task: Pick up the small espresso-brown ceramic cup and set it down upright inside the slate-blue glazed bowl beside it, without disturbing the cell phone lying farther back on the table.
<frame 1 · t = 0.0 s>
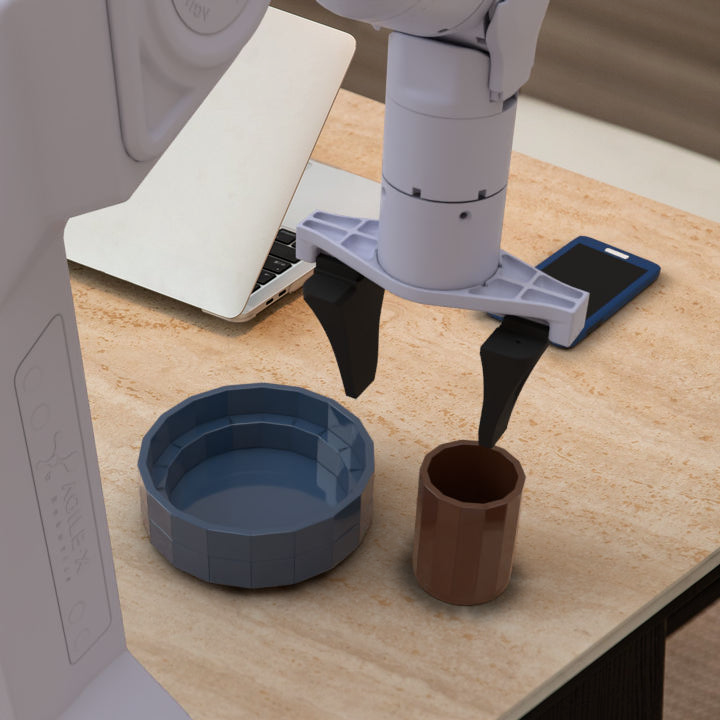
hand: (424, 411, 64), 10 cm above the table, tool pointing down, fingers open, 7 cm apart
bowl: (258, 512, 72), on the table
cell phone: (573, 295, 92), on the table
cup: (461, 569, 68), on the table
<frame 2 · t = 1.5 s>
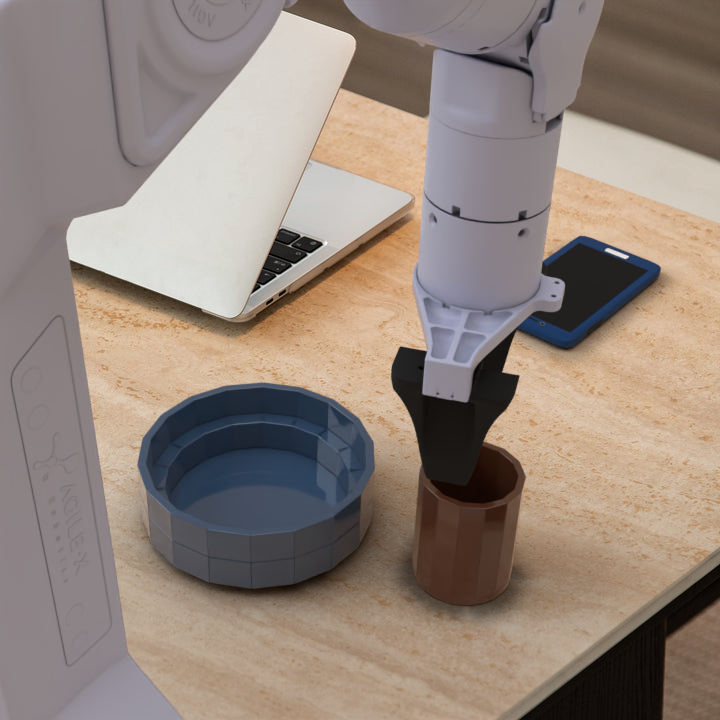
hand: (461, 430, 63), 9 cm above the table, tool pointing down, fingers open, 7 cm apart
nothing on the table moved.
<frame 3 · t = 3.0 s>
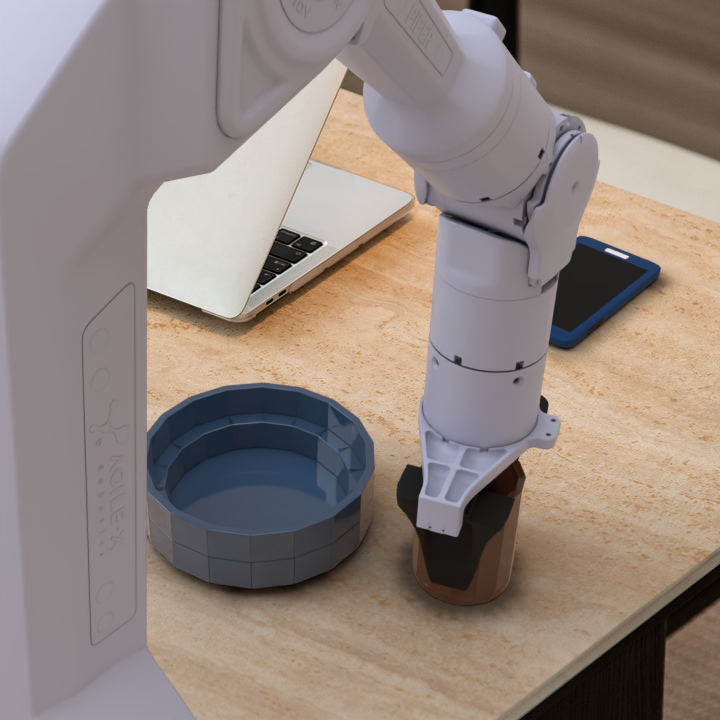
hand: (464, 544, 67), 2 cm above the table, tool pointing down, fingers closed on cup, 5 cm apart
cup: (461, 569, 68), on the table, touching gripper
everything else where it was.
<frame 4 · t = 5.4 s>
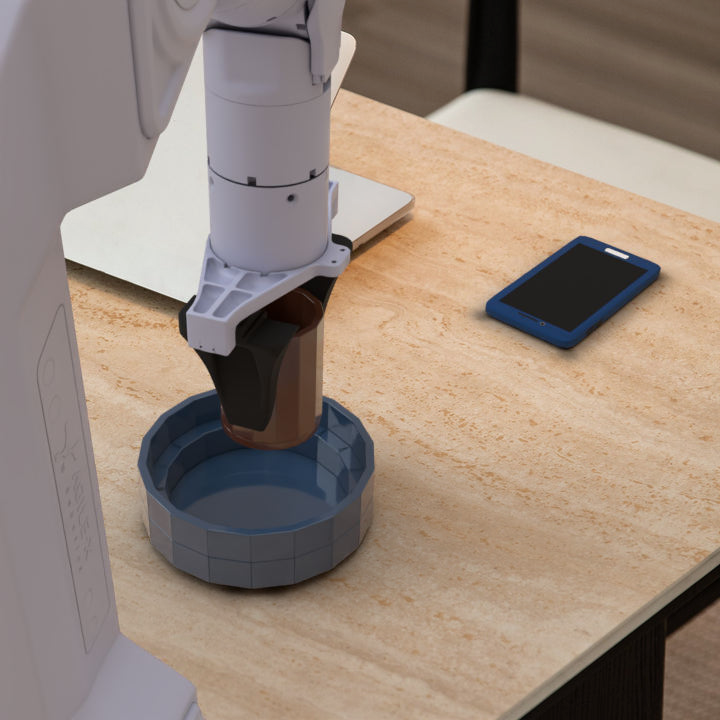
hand: (270, 391, 66), 9 cm above the table, tool pointing down, fingers closed on cup, 5 cm apart
cup: (270, 418, 67), point 7 cm above the table, touching gripper
everything else where it was.
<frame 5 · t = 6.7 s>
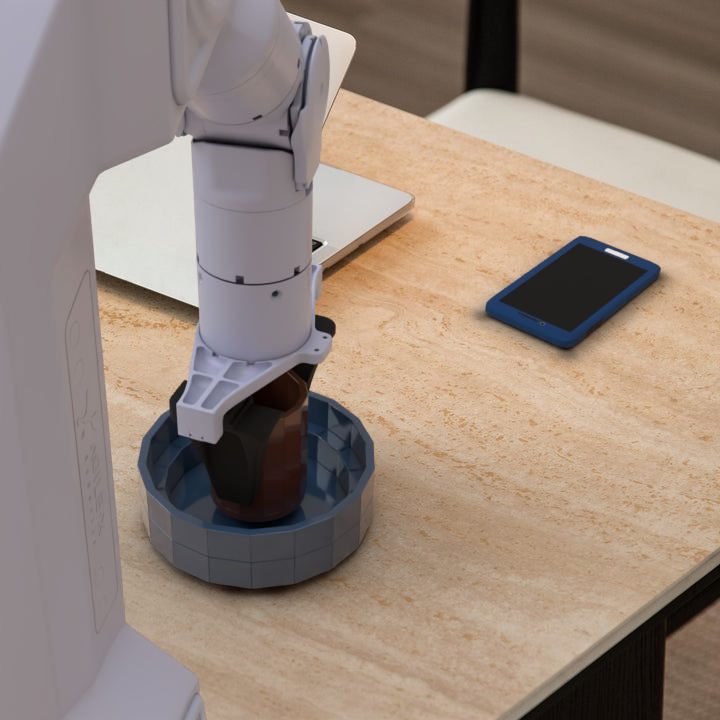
hand: (257, 464, 69), 4 cm above the table, tool pointing down, fingers closed on cup, 5 cm apart
cup: (258, 489, 71), point 2 cm above the table, touching gripper
everything else where it was.
when the fingers open (2 cm above the table, at t = 7.6 s): cup stays where it is, resting on bowl.
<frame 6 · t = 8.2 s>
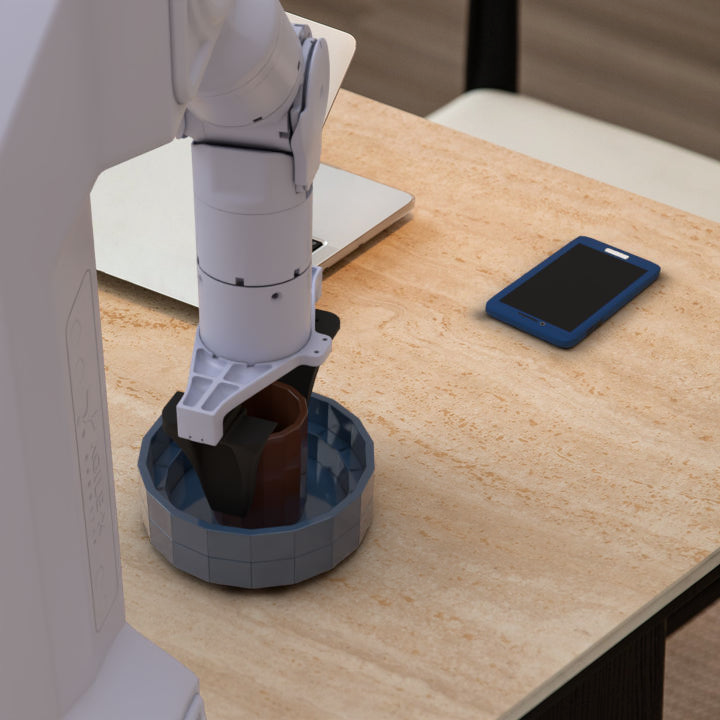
hand: (257, 466, 69), 4 cm above the table, tool pointing down, fingers open, 7 cm apart
cup: (258, 504, 71), point 1 cm above the table, touching bowl
everything else where it was.
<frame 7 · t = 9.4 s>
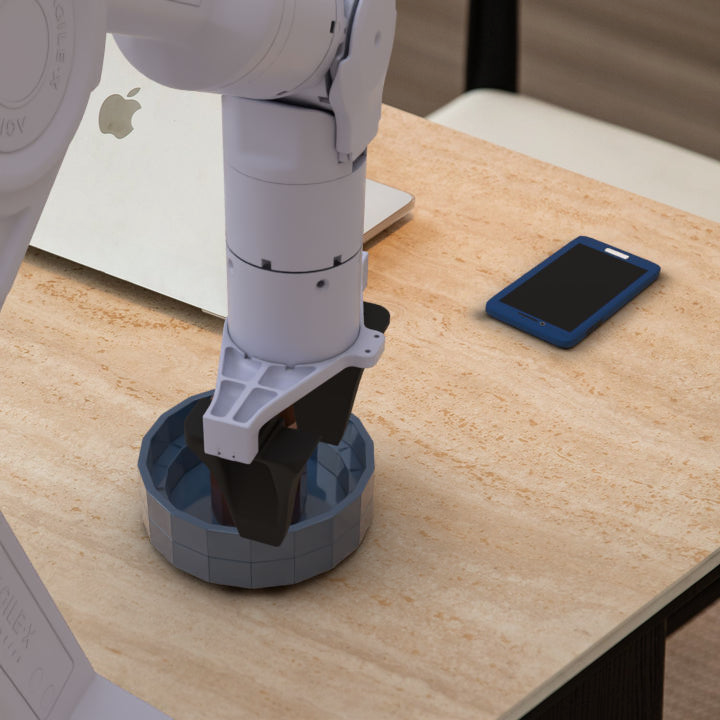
hand: (293, 485, 59), 9 cm above the table, tool pointing down, fingers open, 7 cm apart
nothing on the table moved.
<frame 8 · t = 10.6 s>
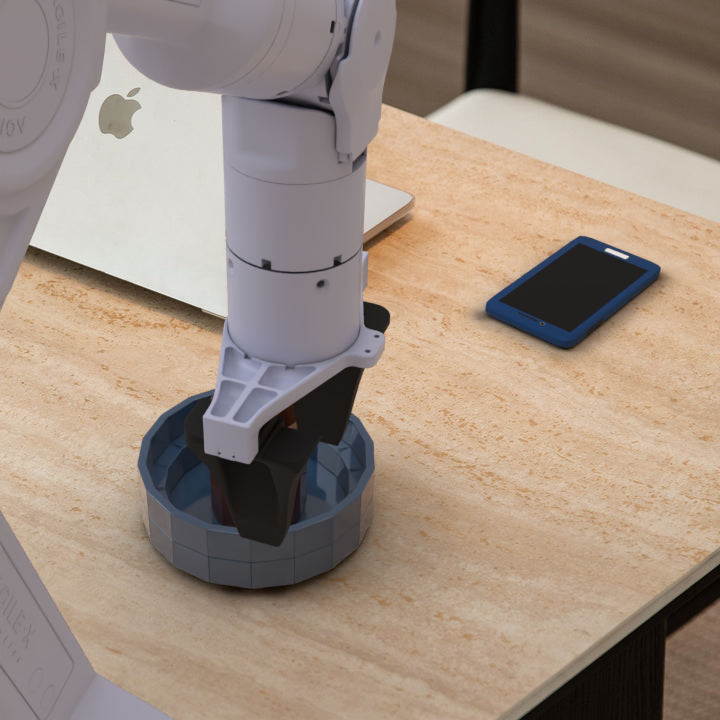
hand: (293, 485, 59), 9 cm above the table, tool pointing down, fingers open, 7 cm apart
nothing on the table moved.
at the end: cup 0.1 cm off-centre in the bowl, point 0.6 cm above the bowl's base; cup tilted 0°; cell phone moved 0.0 cm from its start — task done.
